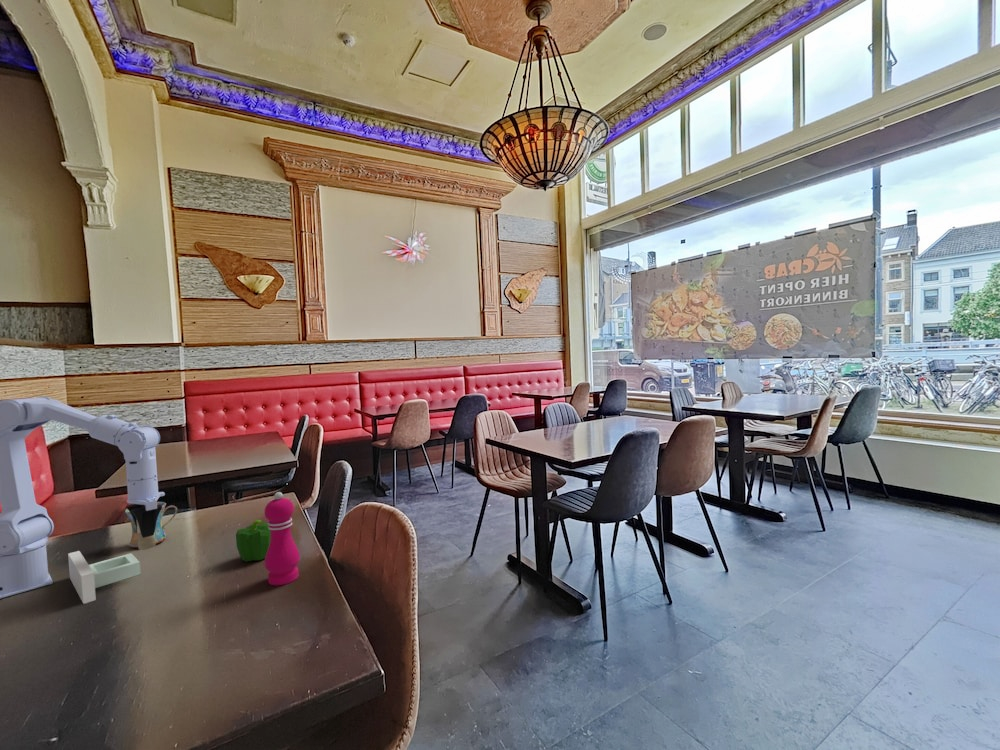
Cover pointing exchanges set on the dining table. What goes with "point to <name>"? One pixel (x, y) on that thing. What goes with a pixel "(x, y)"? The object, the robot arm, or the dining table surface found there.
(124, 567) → the socket block
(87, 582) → the wall
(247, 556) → the bell pepper
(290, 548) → the pepper mill
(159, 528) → the mug
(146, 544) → the dowel
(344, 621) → the dining table surface
